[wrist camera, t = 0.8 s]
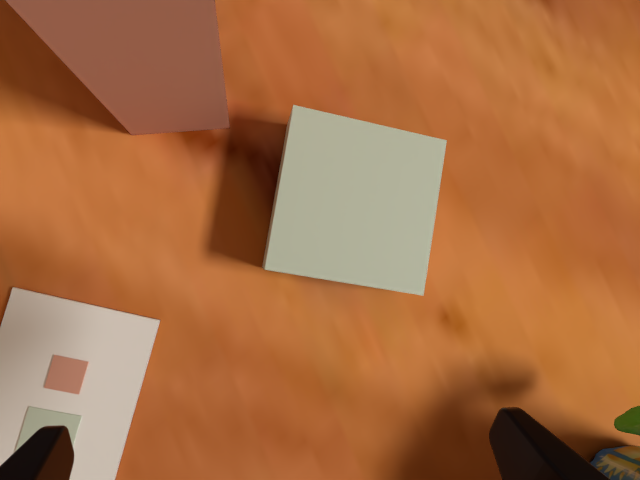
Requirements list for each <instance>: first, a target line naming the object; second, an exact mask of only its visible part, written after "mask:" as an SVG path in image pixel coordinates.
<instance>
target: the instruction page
mask: <svg viewBox="0 0 640 480" xmlns="http://www.w3.org/2000/svg"><path fill="white" fill-rule="evenodd" d="M159 323H160V320H158V319H154V318H149V317H145V316H140V315H136V314H132V313H127V312H123V311H118V310H114V309H109V308H105V307H101V306H96V305H92V304H87V303H83V302H78V301H74V300H69V299H65V298H61V297H56V296H52V295H47V294H43V293H38V292H34V291H30V290H25V289H21V288H16V287H13V288H12V291H11V295H10V298H9V301H8V304H7V307H6V310H5V314H4V317H3V320H2V323H1V326H0V466H1V465H2V464H3V463H4V462H5V461H6V460H7V459H8V458H9V457H10V456H11V455H12V454H13V453H14V452H15V451H16V450H17V449H18V448H19V447H21V446H22V445H23V444H24V443H25V442H26V441H27V440H28V439H29V438H30V437H31V436H32V435H33V434H34V433H35V432H36V431H37V430H39V429H40V428H42V427H44V426H57V425H64V426H66V427H67V428H68V430H69V434H70V438H71V442H72V445H73V449H74V463H73V468H72V471H71V475H70V479H69V480H115V478H116V474H117V471H118V467H119V464H120V460H121V456H122V453H123V449H124V446H125V442H126V439H127V435H128V432H129V428H130V425H131V421H132V418H133V414H134V411H135V407H136V404H137V400H138V397H139V393H140V390H141V386H142V383H143V379H144V376H145V372H146V369H147V365H148V362H149V358H150V355H151V351H152V348H153V344H154V341H155V337H156V334H157V330H158V327H159Z"/></svg>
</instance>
